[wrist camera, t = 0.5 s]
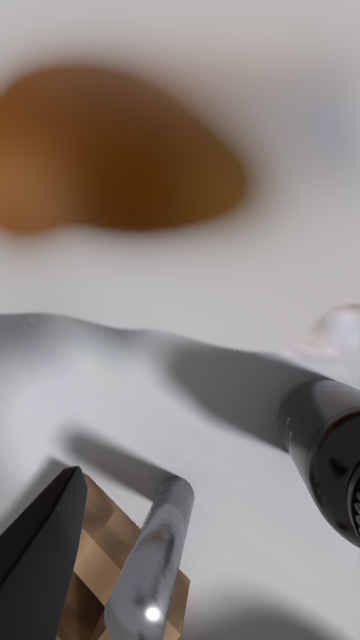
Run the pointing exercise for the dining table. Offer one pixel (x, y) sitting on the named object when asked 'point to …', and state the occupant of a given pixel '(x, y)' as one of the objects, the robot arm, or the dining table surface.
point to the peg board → (106, 571)
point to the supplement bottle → (327, 449)
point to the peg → (151, 567)
